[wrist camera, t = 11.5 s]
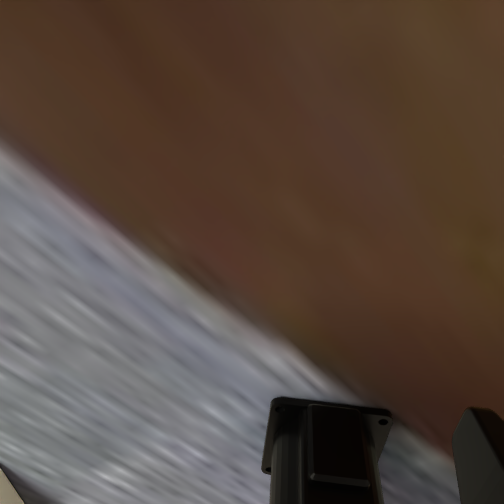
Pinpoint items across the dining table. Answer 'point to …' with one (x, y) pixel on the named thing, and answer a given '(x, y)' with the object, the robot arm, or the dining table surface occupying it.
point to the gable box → (8, 491)
